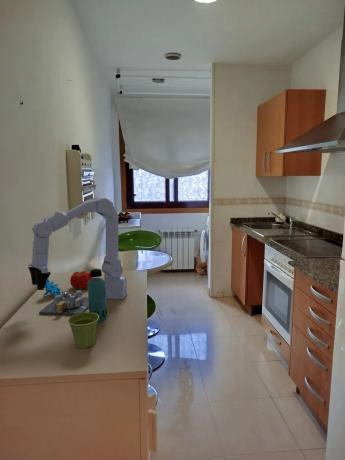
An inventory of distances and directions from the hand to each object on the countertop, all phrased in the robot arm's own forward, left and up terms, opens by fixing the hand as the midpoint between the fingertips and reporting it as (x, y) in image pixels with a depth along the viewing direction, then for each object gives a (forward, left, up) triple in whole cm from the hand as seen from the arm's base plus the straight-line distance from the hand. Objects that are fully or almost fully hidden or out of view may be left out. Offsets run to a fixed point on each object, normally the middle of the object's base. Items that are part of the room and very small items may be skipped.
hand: (37, 287), depth 129 cm
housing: (-9, -7, -10) cm, 15 cm away
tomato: (-5, -31, -11) cm, 33 cm away
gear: (+4, -19, -11) cm, 23 cm away
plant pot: (-28, +23, -11) cm, 37 cm away
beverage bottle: (-27, +8, -11) cm, 30 cm away
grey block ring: (-9, -5, -9) cm, 14 cm away
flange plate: (-9, -7, -10) cm, 15 cm away
